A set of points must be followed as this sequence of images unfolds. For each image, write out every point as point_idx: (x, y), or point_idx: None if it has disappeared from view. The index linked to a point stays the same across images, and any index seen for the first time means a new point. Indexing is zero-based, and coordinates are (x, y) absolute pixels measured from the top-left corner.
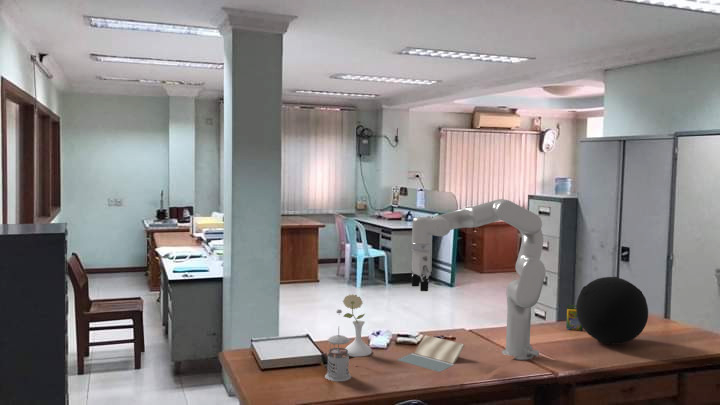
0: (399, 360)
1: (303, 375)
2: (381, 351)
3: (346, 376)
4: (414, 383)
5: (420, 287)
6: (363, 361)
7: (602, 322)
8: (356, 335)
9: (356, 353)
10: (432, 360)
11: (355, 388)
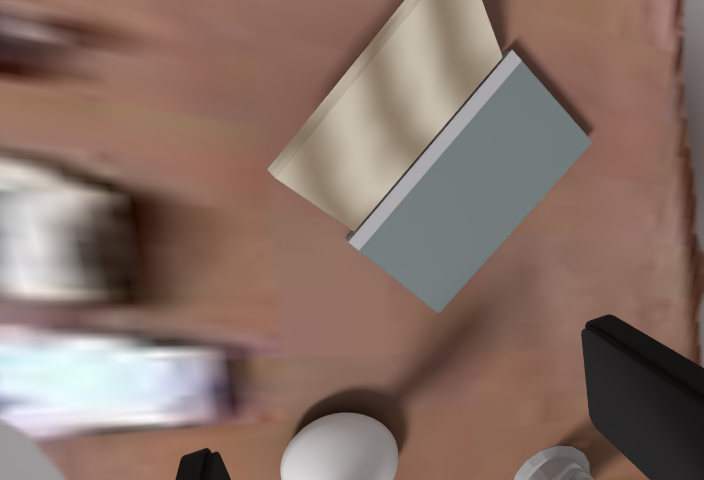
0: (447, 300)
1: None
2: (280, 367)
3: (577, 462)
4: (641, 247)
5: (644, 462)
6: (411, 425)
7: None
8: None
9: (396, 469)
10: (452, 152)
11: None
